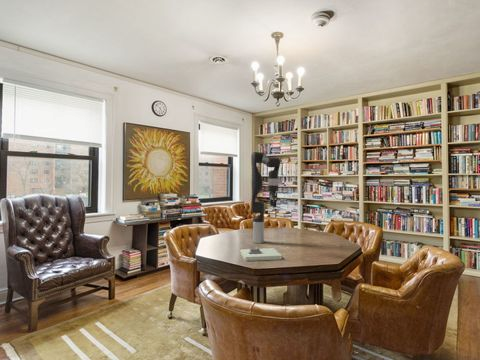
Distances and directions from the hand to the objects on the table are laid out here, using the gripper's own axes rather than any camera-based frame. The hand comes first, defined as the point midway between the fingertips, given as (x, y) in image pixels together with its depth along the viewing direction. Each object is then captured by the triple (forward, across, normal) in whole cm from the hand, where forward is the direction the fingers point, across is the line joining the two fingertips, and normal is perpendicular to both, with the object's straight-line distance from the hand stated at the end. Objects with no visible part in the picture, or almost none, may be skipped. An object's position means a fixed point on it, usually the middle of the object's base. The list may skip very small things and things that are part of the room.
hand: (273, 206), depth 208 cm
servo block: (+32, +17, -18) cm, 40 cm away
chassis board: (+31, +17, -14) cm, 38 cm away
